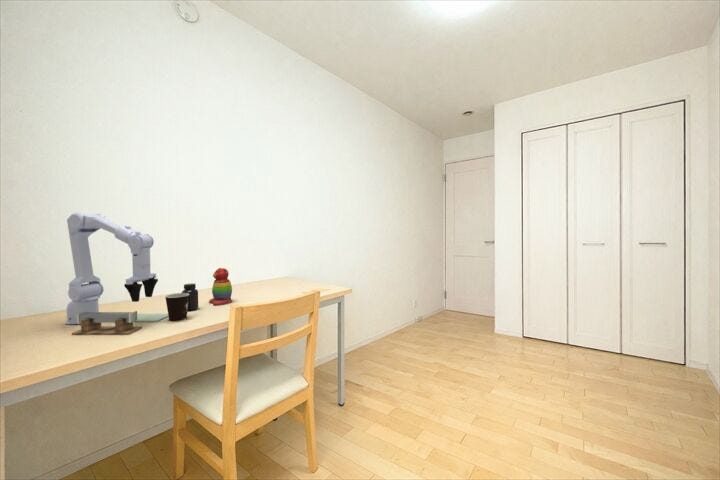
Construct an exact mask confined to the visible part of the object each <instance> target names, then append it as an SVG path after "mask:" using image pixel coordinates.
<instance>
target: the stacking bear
mask: <svg viewBox="0 0 720 480" xmlns="http://www.w3.org/2000/svg"><path fill="white" fill-rule="evenodd" d="M229 274H230V273H229V271H228V269H227V268H224V267H223V268H222V267H219V268H217V269H216V270H215V271H214V273H213V274H212V277H213V278H214V279H215V280H213V283H212V288H211V290H212V291H211V294H212V297H213V298H210V299H209V300H208V303H209V304H212V305H213V307H214V306H215V307H217V306H224V305H228V304H230V303H232V302H233V300H232V295H233V294H232V293H233V286H232V283H231V280H230V279H229Z"/></svg>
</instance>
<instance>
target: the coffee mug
mask: <svg viewBox="0 0 720 480" xmlns="http://www.w3.org/2000/svg"><path fill="white" fill-rule="evenodd" d="M188 301H189V294H188V293H182V292H181V293H179V292H178V293H171V294H167V295H165V303H166V304H165V305H166V309H167V314H168V316H169V317H168V321H170V322H178V321H183V320H186V319H187V318H188V317H187V316H188V311H187V310H188Z"/></svg>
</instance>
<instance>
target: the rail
mask: <svg viewBox="0 0 720 480" xmlns="http://www.w3.org/2000/svg"><path fill="white" fill-rule="evenodd" d="M137 314H138V310H134V311H132V312H131V311H128V312H127V311H124V312H123V311H120V312H119V311H118V312H117V311H104V312H103V311H102V312H100V311H99V312H87V311H84V312H81V313H77V323H81V320H83V319H90V323H101V324H103V323H104V324H105V323H107V324H109V323H110V324H112V323H113V324H115V320H116V319H123V323H131V322H133V323H135V322H134V321H136V320H137Z"/></svg>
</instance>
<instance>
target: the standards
mask: <svg viewBox="0 0 720 480" xmlns="http://www.w3.org/2000/svg"><path fill="white" fill-rule="evenodd" d="M80 327H81V329H79V330H75V331H72V332H71V336H102V335H103V336H116V335H117V336H129V335H132V334H133V333H135V332H138V331H139V330H142V329H143V326H142V325H137V326H135V325H134V322H131V323H123V319H116V320H115V323H114V325H113V326H109V325H103V326H102V323H90V319H83V320H81V324H80Z"/></svg>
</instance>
